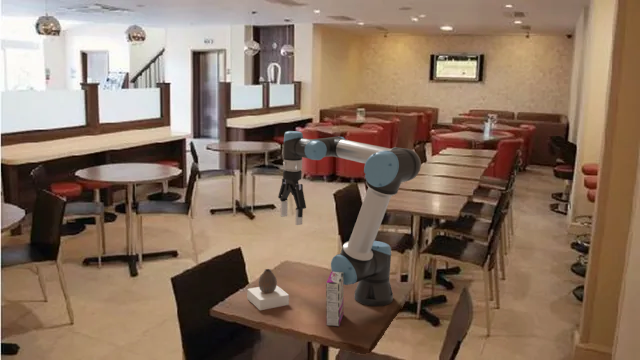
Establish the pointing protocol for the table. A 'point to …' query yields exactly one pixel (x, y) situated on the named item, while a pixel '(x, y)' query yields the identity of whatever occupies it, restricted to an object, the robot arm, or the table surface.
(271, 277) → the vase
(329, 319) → the candy bar box
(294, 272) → the table surface
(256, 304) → the plinth
